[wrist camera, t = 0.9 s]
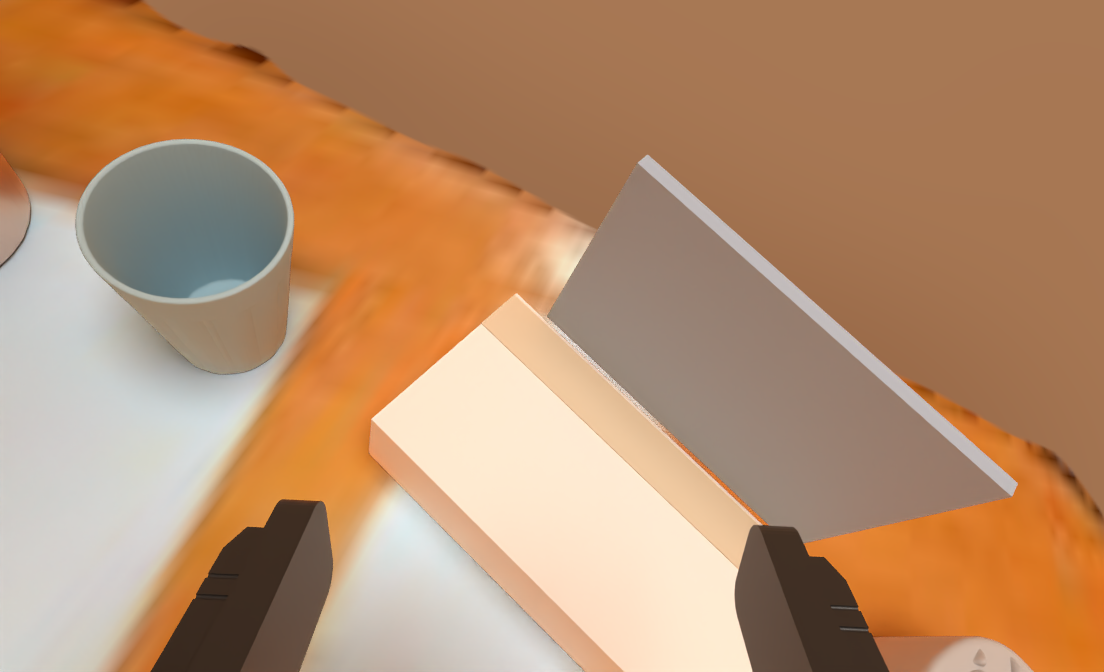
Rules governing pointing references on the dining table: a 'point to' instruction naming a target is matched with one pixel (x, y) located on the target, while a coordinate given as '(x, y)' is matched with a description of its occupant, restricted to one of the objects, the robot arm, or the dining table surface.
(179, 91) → the dining table surface
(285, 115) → the dining table surface
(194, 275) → the cup
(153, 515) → the dining table surface
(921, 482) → the flap
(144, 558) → the dining table surface
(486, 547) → the carton
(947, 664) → the paw print tray
